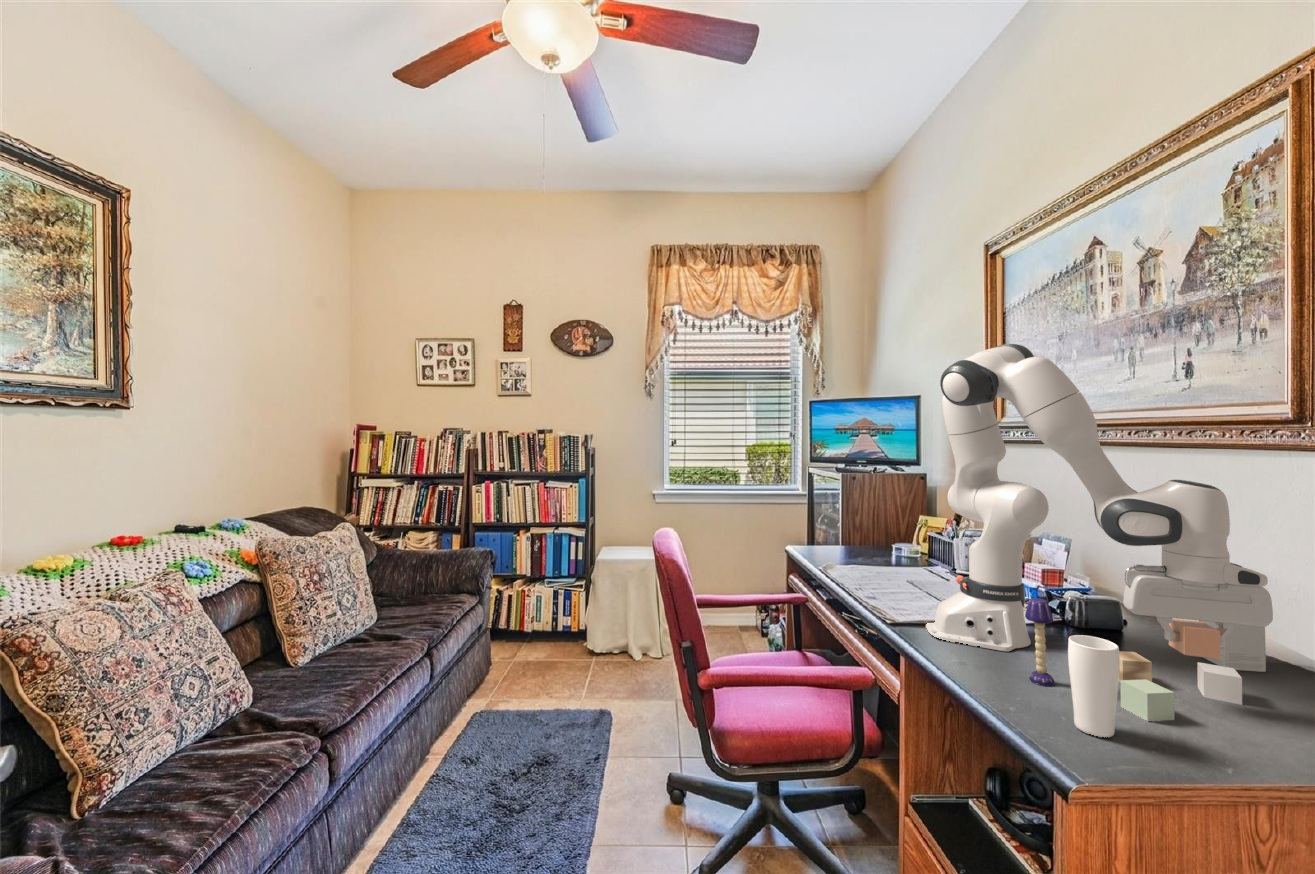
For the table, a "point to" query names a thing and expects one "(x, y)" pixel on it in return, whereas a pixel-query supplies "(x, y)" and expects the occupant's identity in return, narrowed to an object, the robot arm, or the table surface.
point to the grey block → (1219, 683)
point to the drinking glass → (1094, 683)
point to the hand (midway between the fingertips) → (1193, 643)
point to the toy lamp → (1040, 639)
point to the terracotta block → (1196, 639)
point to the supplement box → (1242, 648)
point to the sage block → (1147, 700)
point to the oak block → (1134, 667)
